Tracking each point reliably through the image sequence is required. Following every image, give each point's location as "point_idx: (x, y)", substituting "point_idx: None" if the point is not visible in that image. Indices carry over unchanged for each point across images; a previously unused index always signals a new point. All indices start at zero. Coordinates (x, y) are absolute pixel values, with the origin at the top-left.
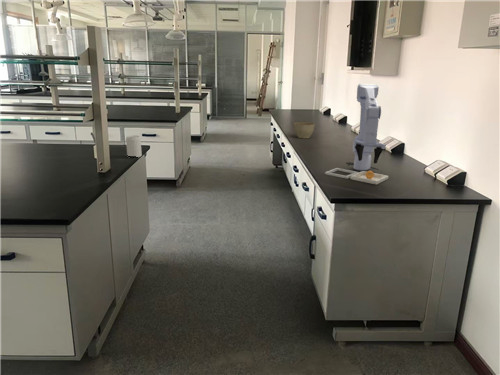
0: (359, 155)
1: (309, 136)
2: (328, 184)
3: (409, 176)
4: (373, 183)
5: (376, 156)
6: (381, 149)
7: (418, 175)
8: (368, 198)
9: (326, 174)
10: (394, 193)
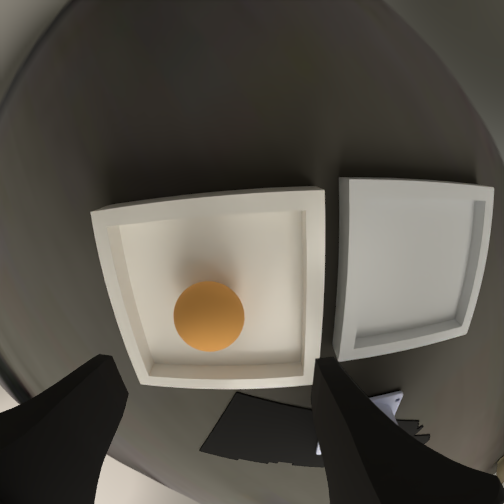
0: (340, 409)
1: (499, 462)
2: (366, 18)
3: (152, 449)
4: (121, 205)
5: (32, 401)
6: None
7: (147, 464)
8: (68, 5)
9: (478, 184)
10: (15, 172)
